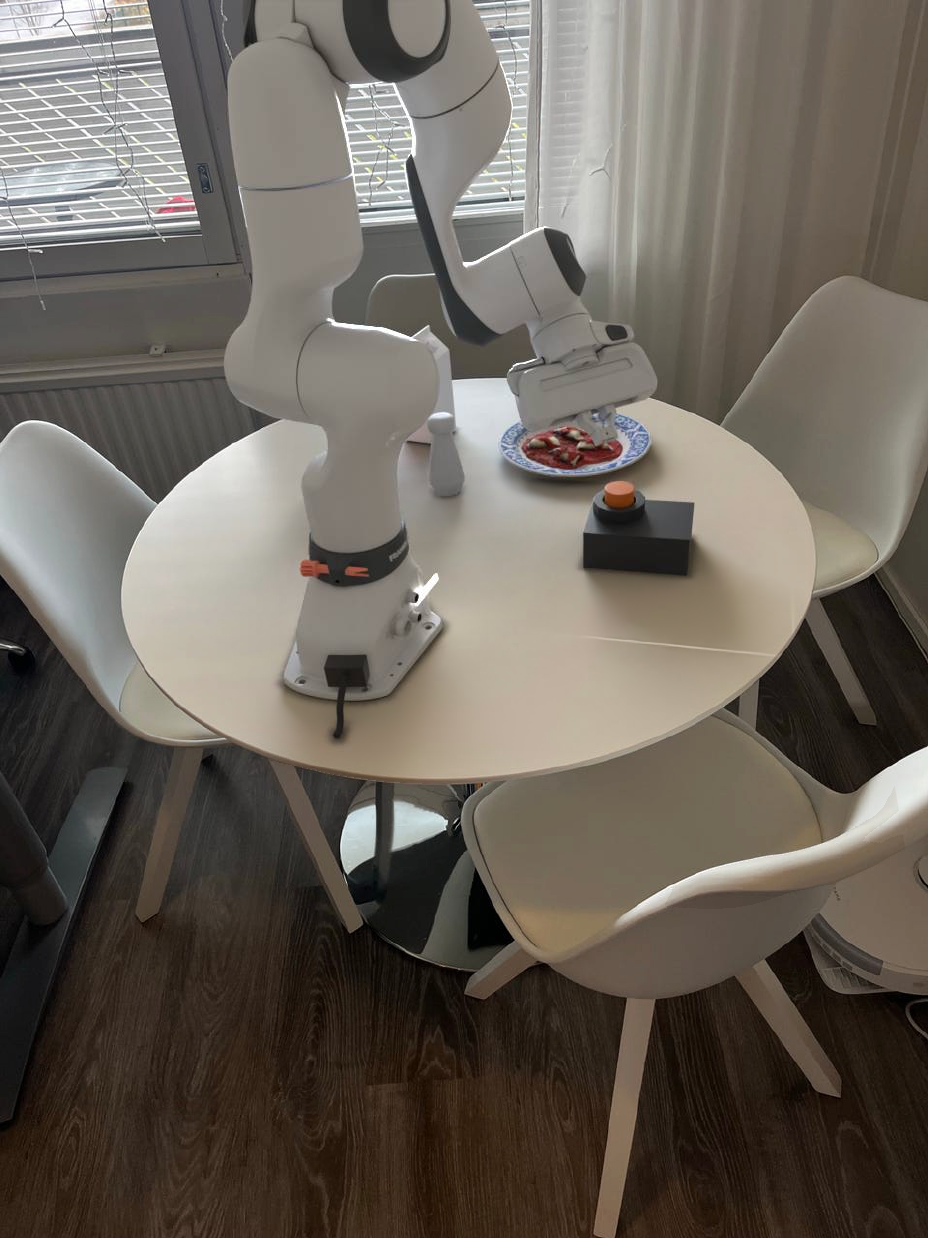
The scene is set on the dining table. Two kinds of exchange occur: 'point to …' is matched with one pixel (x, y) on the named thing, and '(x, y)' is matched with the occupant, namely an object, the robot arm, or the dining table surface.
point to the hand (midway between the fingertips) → (607, 441)
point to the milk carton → (446, 389)
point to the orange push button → (619, 494)
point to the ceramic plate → (574, 448)
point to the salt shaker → (444, 456)
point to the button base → (639, 536)
